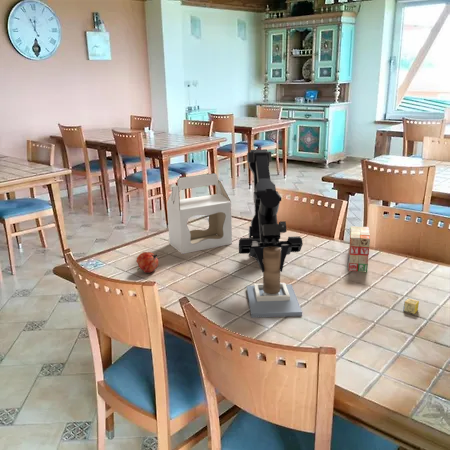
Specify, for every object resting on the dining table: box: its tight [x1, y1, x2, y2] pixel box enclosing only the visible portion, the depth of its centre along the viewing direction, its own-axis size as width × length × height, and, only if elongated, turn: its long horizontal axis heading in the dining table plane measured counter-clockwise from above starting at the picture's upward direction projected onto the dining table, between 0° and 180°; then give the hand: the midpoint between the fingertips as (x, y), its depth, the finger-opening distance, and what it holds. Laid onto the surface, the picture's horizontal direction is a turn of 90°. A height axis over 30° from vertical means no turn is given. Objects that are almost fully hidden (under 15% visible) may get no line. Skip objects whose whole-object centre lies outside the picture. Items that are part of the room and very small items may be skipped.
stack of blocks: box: [348, 225, 371, 273], centre depth 163 cm, size 21×6×12 cm, turn 165°
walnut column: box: [262, 246, 281, 294], centre depth 135 cm, size 5×5×13 cm
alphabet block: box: [403, 298, 420, 315], centre depth 128 cm, size 3×3×3 cm
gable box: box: [166, 172, 233, 255], centre depth 180 cm, size 22×13×28 cm, turn 118°
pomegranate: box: [136, 251, 160, 274], centre depth 158 cm, size 7×7×10 cm
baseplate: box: [246, 282, 303, 318], centre depth 135 cm, size 18×14×2 cm
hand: (272, 271), depth 134 cm, fingers closed on walnut column, 5 cm apart
